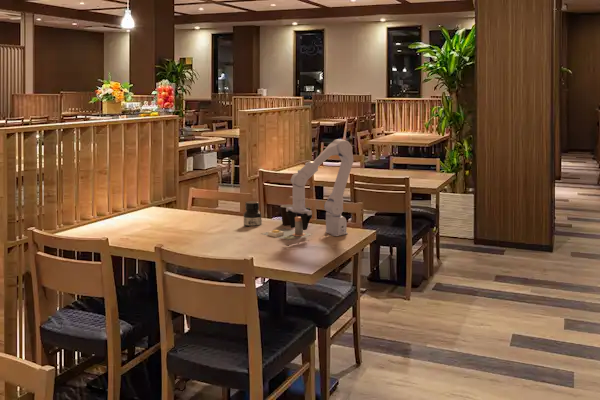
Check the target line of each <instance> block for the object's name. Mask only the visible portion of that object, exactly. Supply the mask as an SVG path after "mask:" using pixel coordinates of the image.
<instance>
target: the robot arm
mask: <svg viewBox="0 0 600 400" xmlns="http://www.w3.org/2000/svg"><path fill="white" fill-rule="evenodd" d="M353 148H354V147H353V146H352V144H351V142H349V140H347V139H346V140H345V139H339V138H337V139H334V140H333V141H332V142H330V143H329V144H328V145H327V147H326V148H325V149H323V150H322V152H320V153H319V155H318V156H317V157H316V158H315V159H314V160H313V161H308V162H305V163H304V166H303V167H301V168H299V169H298V170H297V172H295V173H293V174H292V176H291V178H290V183H291V184H292V191H291V192H292V205H293V207H286V211H287V212H288V213H286V215H287V217H288V219H289V222H290V225H291V226H290V228H292V229H293V228H294V229H295V217H296V215H297V216H298V214H301V215H300V216H299V217H301V219H302V227H303V231H307V230H308V227H309V223H310V221H311V219H312V216H313V210H311V209H307V208H306V190H305V189H306V187H305V186H306V184H307V183H308V180H309V179H310V178H311V177H313V176H314V175H315V174H316V173H317V172H318V171H319V167H320V166H321V165H322V164H323V163H325V161H326V160H328V159H329V158H330V157H331V156H336V155H337V156H338V157H339V160H340V161H341V162H340V165H339V169H338V171H337V175H336V178H335V182H334V184H333V188H332V192H331V193H330V195H328V197H327V200H326V201H325V202H324V205H323V207H324V211H326V212H325V233H326V234H328V236H333V237H339V236H343V235H347V234H348V233H349V232H348V231H347V230H348V229H347V226H348V225H347V223H348V222H347V218H346V217H345V216H343V215H342V213H343V212H344V202H345V201H344V197H343V196H344V193H345V189H346V187H347V183H348V180H349V178H350V174H351V170H352V166H353V165H354V154H353Z"/></svg>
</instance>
